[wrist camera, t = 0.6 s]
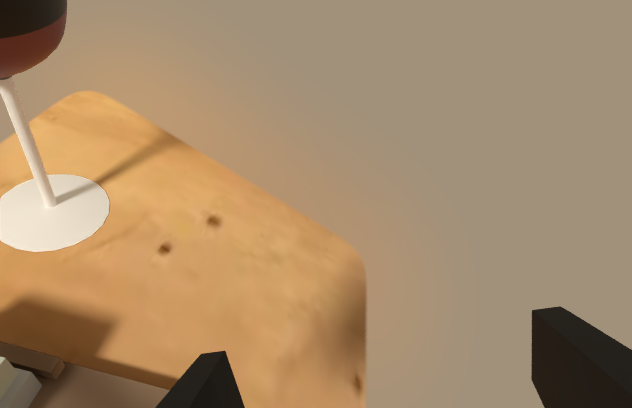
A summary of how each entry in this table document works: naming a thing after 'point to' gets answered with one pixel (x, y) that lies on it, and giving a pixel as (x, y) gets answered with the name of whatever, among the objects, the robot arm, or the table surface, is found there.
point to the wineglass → (43, 190)
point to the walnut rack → (79, 383)
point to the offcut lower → (21, 391)
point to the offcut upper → (6, 375)
